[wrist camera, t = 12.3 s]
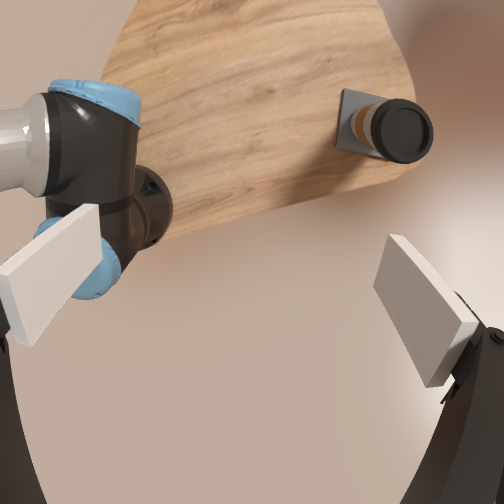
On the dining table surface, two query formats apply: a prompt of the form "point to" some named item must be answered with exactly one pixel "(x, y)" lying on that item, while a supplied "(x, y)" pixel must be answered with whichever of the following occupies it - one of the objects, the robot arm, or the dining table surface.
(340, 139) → the coaster
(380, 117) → the coffee cup
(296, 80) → the dining table surface
